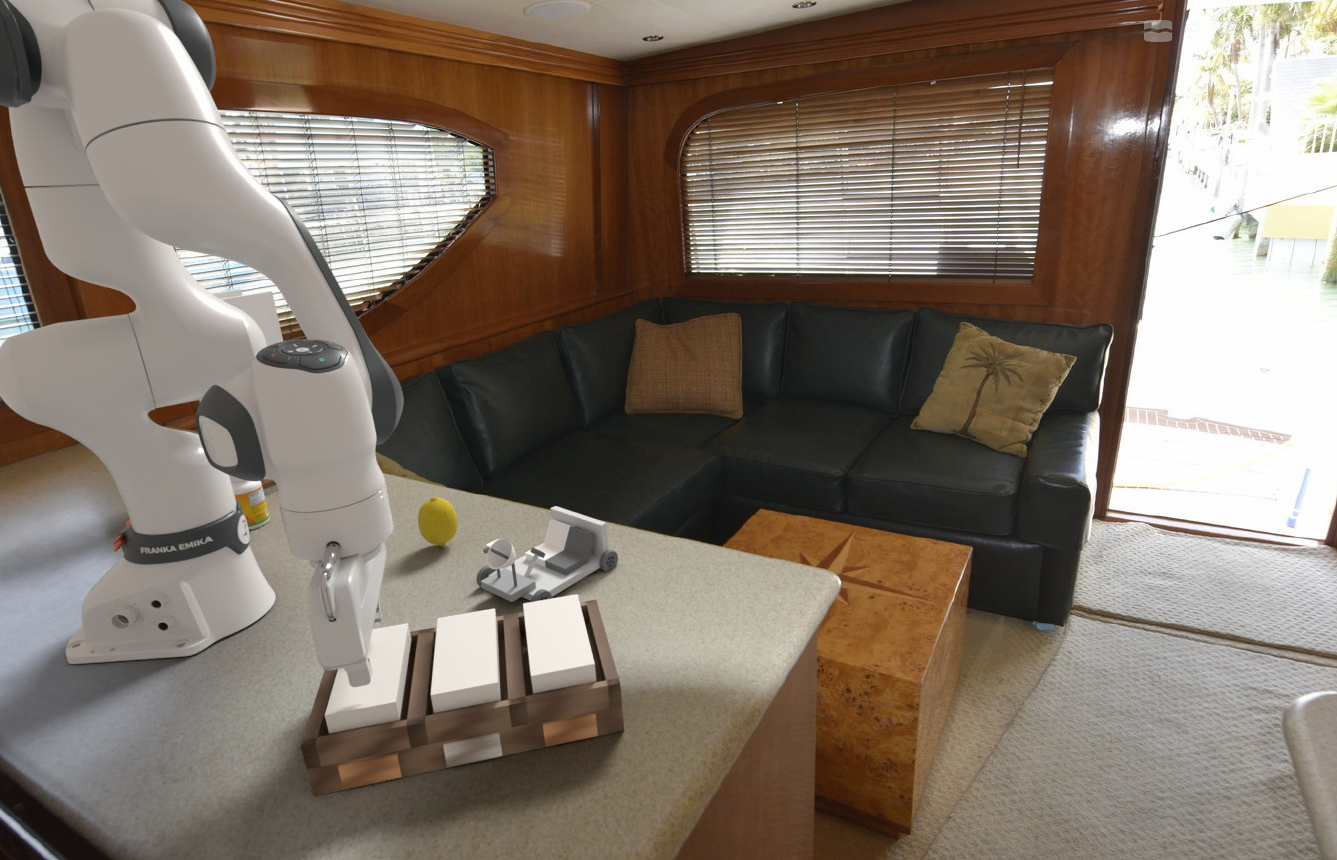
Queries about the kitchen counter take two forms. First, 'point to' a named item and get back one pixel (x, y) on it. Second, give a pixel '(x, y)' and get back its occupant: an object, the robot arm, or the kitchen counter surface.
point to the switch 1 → (373, 684)
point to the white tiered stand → (267, 320)
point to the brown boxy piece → (465, 715)
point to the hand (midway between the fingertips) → (367, 651)
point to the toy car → (548, 559)
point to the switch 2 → (466, 661)
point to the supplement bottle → (251, 501)
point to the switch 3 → (558, 644)
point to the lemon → (437, 521)
